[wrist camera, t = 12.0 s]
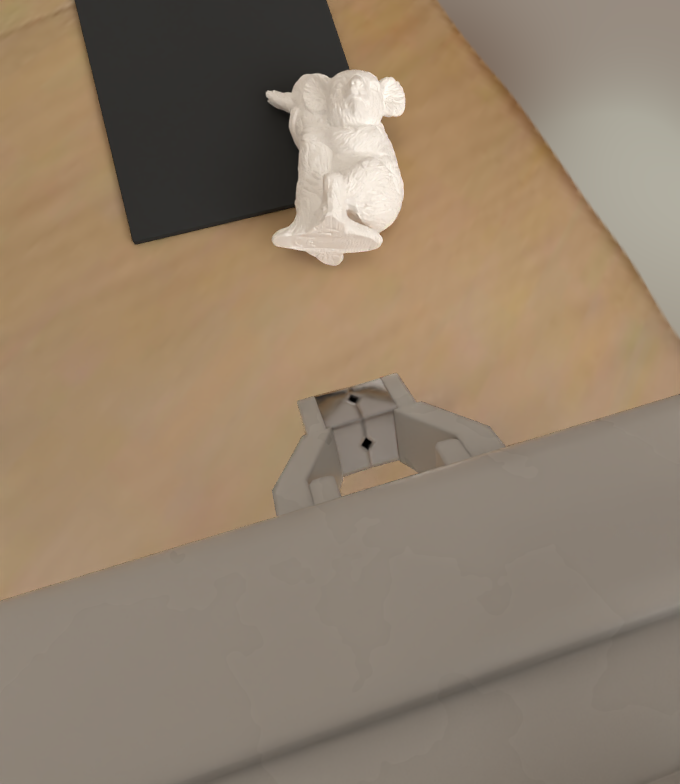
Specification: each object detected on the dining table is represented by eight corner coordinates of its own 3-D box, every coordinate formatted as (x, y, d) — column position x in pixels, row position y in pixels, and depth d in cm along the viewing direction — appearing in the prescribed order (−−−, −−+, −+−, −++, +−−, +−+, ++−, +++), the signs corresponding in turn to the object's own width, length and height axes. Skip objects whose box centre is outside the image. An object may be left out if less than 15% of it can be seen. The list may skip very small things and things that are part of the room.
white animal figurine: (235, 226, 26) (244, 51, 29) (291, 288, 32) (292, 136, 35) (398, 184, 23) (384, -4, 27) (426, 260, 29) (412, 98, 33)
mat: (386, 185, 32) (387, 181, 32) (135, 244, 31) (132, 241, 30) (301, -67, 35) (301, -74, 35) (69, -26, 34) (67, -32, 33)
